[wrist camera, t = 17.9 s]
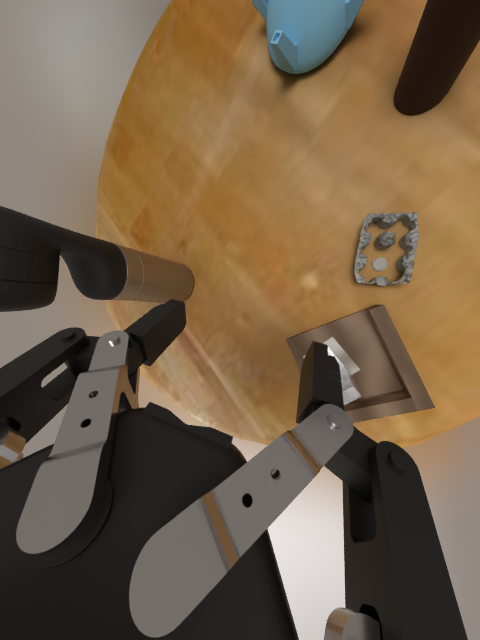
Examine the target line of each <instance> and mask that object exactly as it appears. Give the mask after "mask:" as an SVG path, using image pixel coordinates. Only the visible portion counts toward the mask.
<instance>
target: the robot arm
mask: <svg viewBox="0 0 480 640" xmlns="http://www.w3.org/2000/svg"><path fill="white" fill-rule="evenodd" d="M60 255H61V256H62V258H63V259H64V261H65V262H66V264H67V266H68V268H69V271H70V273H71V276H72V279H73V281H74V283H75V285H76V287H77V288H78V289H79V291H80V292H81V293H82V294H83V295H85V296H86V297H88V298H92V299H97V300H132V301H143V302H166V303H165V304H161V305H159V306H156V307H154V308H153V309H151V310H150V311H149V312H148V313H146V314H145V315H144V316H143V317H141V318H140V319H138V320H137V321H136V322H135V323H133V324H132V325H131V326H129V327H128V328H127V329H126V330H124V331H112V332H109V333H106V334H105V335H103V336H101V337H93V336H87V335H86V333H85V331H84V330H83V329H81V328H68V329H64V330H62V331H59V332H57V333H56V334H54V335H53V336H51V337H49V338H48V339H46V340H45V341H43V342H42V343H40V344H38V345H37V346H35V347H33V348H32V349H30V350H29V351H27V352H25V353H24V354H22V355H21V356H19V357H17V358H16V359H14V360H13V361H11V362H10V363H8V364H6V365H5V366H3V367H2V368H0V640H299V639H298V635H297V632H296V628H295V624H294V621H293V617H292V614H291V610H290V607H289V603H288V600H287V596H286V593H285V589H284V586H283V582H282V579H281V575H280V572H279V568H278V565H277V561H276V557H275V554H274V551H273V547H272V543H271V540H270V536H269V533H268V529H267V528H268V527H269V526H270V525H271V523H273V522H274V520H275V519H276V518H277V517H278V516H279V515H280V514H281V513H282V512H283V511H284V510H285V508H287V506H288V505H289V504H290V503H291V502H292V501H293V500H294V499H295V498H296V497H297V496H298V494H299V493H300V492H301V491H302V490H303V489H304V488H305V487H306V486H307V485H308V484H309V483H310V482H311V481H312V479H313V478H314V477H315V476H316V475H317V474H318V473H319V471H320V469H321V468H322V467H323V466H325V467H326V468H327V469H329V470H330V471H331V472H332V473H334V474H335V475H336V476H337V477H339V478H340V479H341V480H342V481H343V517H344V557H345V558H344V561H345V601H346V602H345V604H346V608H337V609H335V610H334V611H333V612H332V613H331V614H330V616H329V618H328V620H327V623H326V628H325V636H324V640H468V639H467V636H466V632H465V628H464V625H463V621H462V618H461V614H460V611H459V608H458V604H457V601H456V597H455V594H454V590H453V587H452V583H451V580H450V577H449V573H448V569H447V566H446V562H445V559H444V556H443V552H442V549H441V545H440V542H439V538H438V535H437V531H436V528H435V524H434V521H433V517H432V514H431V511H430V507H429V503H428V500H427V496H426V493H425V490H424V486H423V483H422V479H421V476H420V472H419V470H418V467H417V465H416V464H415V462H414V460H413V459H412V458H411V457H410V455H409V454H408V453H407V452H406V451H404V450H403V449H402V448H401V447H400V446H398V445H396V444H394V443H392V442H389V441H382V442H380V443H376V442H375V441H373V440H372V439H370V438H369V437H367V436H366V435H364V434H363V433H362V432H360V431H359V430H358V429H356V428H355V427H354V426H353V423H352V421H351V419H350V417H349V416H348V415H347V413H346V412H345V410H344V401H343V392H342V383H341V375H340V374H341V373H340V365H339V363H338V361H337V360H336V358H335V357H334V356H331V355H328V345H327V344H323V343H320V342H316V341H312V343H311V345H310V347H309V349H308V351H307V354H306V356H305V358H304V360H303V363H302V368H301V377H300V387H299V397H298V407H297V418H296V423H299V425H297V426H296V427H295V428H294V429H292V430H291V431H286V432H285V433H283V434H282V435H281V436H280V437H278V438H277V439H276V440H275V441H273V442H272V443H271V444H269V445H268V446H267V447H266V448H264V449H263V450H262V451H261V452H259V453H258V454H257V455H256V456H254V457H253V458H252V459H251V460H249V462H247V461H246V459H245V458H244V456H243V455H242V453H241V452H240V451H239V450H238V449H237V447H235V446H234V445H233V444H232V438H233V437H232V436H230V435H228V434H225V433H223V432H221V431H218V430H216V429H213V428H211V427H202V426H193V425H187V424H185V423H183V422H182V421H181V420H180V419H179V418H178V417H177V416H175V415H174V414H173V413H172V412H171V411H169V410H168V409H166V408H163V407H161V406H158V405H156V404H153V403H151V402H150V403H149V404H148V405H147V406H146V408H139V404H138V390H139V376H140V368H139V367H140V366H141V365H142V364H145V365H147V366H151V365H152V364H153V363H154V362H155V360H156V359H157V358H158V357H159V356H160V355H161V354H162V353H163V352H164V350H165V349H166V348H167V347H168V346H169V345H170V344H171V343H172V342H173V341H174V339H175V338H176V337H177V336H178V335H179V334H180V333H181V332H182V331H183V329H184V328H185V325H186V313H185V304H184V302H182V301H184V300H186V299H187V298H188V297H189V296H190V294H191V293H192V290H193V286H194V279H193V275H192V273H191V271H190V270H189V268H188V267H186V266H185V265H183V264H180V263H176V262H173V261H170V260H167V259H163V258H160V257H157V256H154V255H150V254H147V253H144V252H140V251H137V250H134V249H130V248H127V247H124V246H120V245H117V244H114V243H111V242H107V241H104V240H100V239H97V238H93V237H90V236H86V235H83V234H80V233H77V232H73V231H71V230H68V229H65V228H62V227H59V226H56V225H53V224H50V223H47V222H44V221H42V220H39V219H36V218H33V217H31V216H28V215H25V214H23V213H20V212H17V211H14V210H11V209H8V208H5V207H2V206H0V312H4V311H5V312H6V311H22V310H32V309H37V308H41V307H45V306H47V305H50V304H51V303H52V302H53V301H54V299H55V296H56V292H57V284H58V272H59V259H60V258H59V256H60ZM62 363H65V364H66V366H67V367H68V368H67V369H66V370H64V371H63V372H62V373H61V374H59V375H58V376H57V377H56V378H54V379H53V380H52V381H51V382H49V383H48V384H47V385H46V386H44V387H43V388H42V387H41V382H42V380H43V379H44V377H46V376H47V375H48V374H50V373H51V372H52V371H53V370H55V369H56V368H57V367H59V366H60V365H61V364H62ZM67 404H68V406H67V409H66V412H65V415H64V418H63V420H62V423H61V426H60V429H59V432H58V435H57V438H56V440H55V443H54V444H53V445H50V446H48V447H46V448H44V449H42V450H39V451H37V452H35V453H33V454H31V455H29V456H27V457H25V458H23V453H21V452H22V450H23V448H24V446H25V444H26V443H27V442H28V441H29V440H30V439H31V438H32V437H33V436H34V435H36V434H37V433H38V432H39V430H41V429H42V428H43V427H44V426H45V425H46V424H47V423H48V422H49V421H50V420H51V419H52V418H53V417H54V416H55V415H56V414H57V413H59V411H61V410H62V409H63V408H64V407H65V406H66V405H67Z"/></svg>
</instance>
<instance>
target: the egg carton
mask: <svg viewBox="0 0 480 640" xmlns="http://www.w3.org/2000/svg"><path fill="white" fill-rule="evenodd" d="M417 219H418V213H417V212H414V213H403V212H402V213H381V214H367V216H366V218H365V221H364V224H363V227H362V229H361V232H360V242H359V245H358V250H357V255H356V259H355V268H354V273H355V277H356V280H357V282H358V283H362V284H373V283H377V285H381V286H387V285H394V284H397V283H400V284H402V283H404V284H407V283H409V282H410V280H411V276H412V271H413V268H414V257H415V254H416V247H417V242H418V239H419V236H418V223H417ZM400 220H402V222H403V225H404V226H406V227H408V228H410V232H408V233H407V234H406V235H405V236H403V237H402V238H401V240H400V242H399V245H400V247H401V248H402V249H405V253H406V255H405V256H403V257H401V258H400V259H399V260H398V261H397V263H396V267H397V269H398V270H400V271H403V275H402V277H401V278H399V279H397V280H395V281H394V282H392V283H390V284H389V281H388V279H387V278H386V277H383V276H378V277H375V278H374V279H372V280H371V281H370V282H369V283H366V281H365V278H363V277H362V276H360V275H359V273H358V271H359V270H361V269H362V268H363V267H364V266H365V265H366V263H367V258H368V257H366V256H365V255H364V254H360V252H361V251H362V249H364V248H365V247H366V246H367V245H368V244H369V242H370V240H371V235H370V233H368V232H367V231H365V229H366V228H367V227H368V226H369V224H370V223H371V222H377V223H378V226H379V227H380V228H381V229H388V228H390V227H391V226H392V225H393V224H394V223H395V222H396V221H400ZM395 239H396V235H395V234H394V233H393V232H389V231H385V232H383V233H382V234H380V236H379V237H378V238H377V239H376V241H375V243H374V245H375V247H376V248H377V249H378V250H385V249H387V248H389V247H390V246H391V245H393V244H394V243H395ZM387 265H388V261H387V260H386V259H385V258H383V257H378V258H376V259H375V260H374V261H373V262H372V268H373V269H374V270H376V271H382V270H384V269H385V268H386V267H387Z"/></svg>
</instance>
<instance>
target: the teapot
mask: <svg viewBox="0 0 480 640" xmlns="http://www.w3.org/2000/svg"><path fill="white" fill-rule="evenodd" d="M363 1H364V0H252V4H253V5H254V6H255V8H256V9H257V10H258V11H259V13H260V14H261V15H262V16H263V18H264V19H265V20H266V21H267V42H268V49H269V54H270V56H271V59H272V60H273V62H274V63H275V65H276V66H277V67H278V68H280V69H281V70H283V71H285V72H288V73H292V74H302V73H306V72H309V71H311V70H313V69H315V68H316V67H318V66H319V65H321V64H322V63H323V62H324V61H325V60H326V59H327V58H328V57H329V56H330V55H331V54H332V53H333V52H334V51H335V49H336V48H337V47H338V45H339V44H340V42H341V41H342V39H343V38H344V36H345V35H346V33H347V31H348V29H350V28H351V26H352V24H353V22H354V20H355V18H356V16H357V14H358V12H359V10H360V7H361V5H362V3H363Z"/></svg>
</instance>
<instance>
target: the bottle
mask: <svg viewBox="0 0 480 640" xmlns="http://www.w3.org/2000/svg"><path fill="white" fill-rule="evenodd" d="M479 40H480V0H428V1H427V3H426V6H425V9H424V12H423V15H422V17H421V20H420V23H419V26H418V28H417V31H416V34H415V37H414V40H413V42H412V45H411V48H410V51H409V54H408V56H407V59H406V62H405V65H404V68H403V70H402V73H401V76H400V79H399V82H398V84H397V87H396V90H395V96H394V101H395V106H396V107H397V108H398V110H399V111H401V112H403V113H405V114H418V113H422V112H424V111H427V110H429V109H431V108H432V107H434V106H435V105H436V104H438V103H439V102H440V101H441V100H442V99H443V98H444V96H445V95H446V94H447V93H448V91H449V90H450V88H451V87H452V85H453V83H454V82H455V80H456V78H457V77H458V75H459V73H460V72H461V70H462V68H463V67H464V65H465V64H466V62H467V60H468V59H469V57H470V55H471V54H472V52H473V50H474V49H475V47H476V45H477V44H478V42H479Z"/></svg>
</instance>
